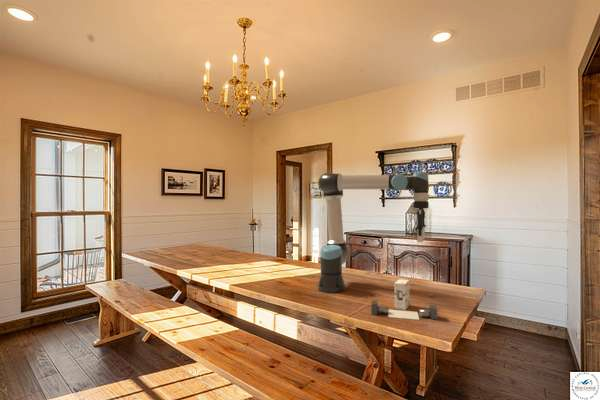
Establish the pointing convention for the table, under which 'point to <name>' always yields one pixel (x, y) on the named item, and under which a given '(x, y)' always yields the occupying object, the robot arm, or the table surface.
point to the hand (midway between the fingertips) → (421, 240)
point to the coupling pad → (403, 314)
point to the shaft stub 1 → (378, 308)
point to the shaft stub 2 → (429, 312)
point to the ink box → (402, 294)
